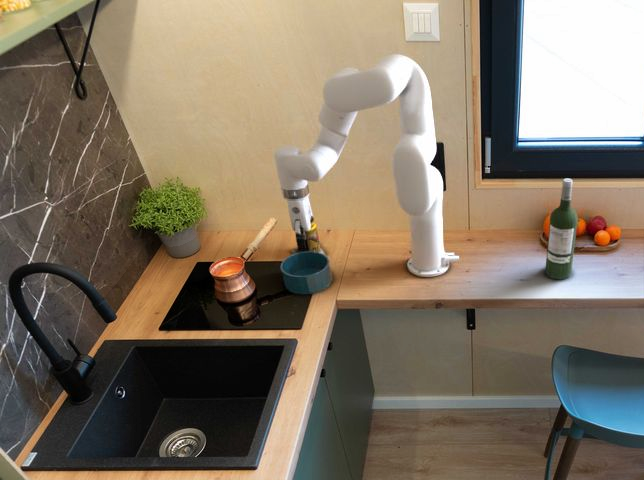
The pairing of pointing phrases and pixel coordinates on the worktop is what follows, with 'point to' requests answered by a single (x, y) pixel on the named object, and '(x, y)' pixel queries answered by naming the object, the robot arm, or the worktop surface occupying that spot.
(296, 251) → the condiment
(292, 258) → the bowl
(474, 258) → the worktop surface
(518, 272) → the worktop surface
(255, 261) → the worktop surface
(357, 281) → the worktop surface
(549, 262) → the wine bottle
